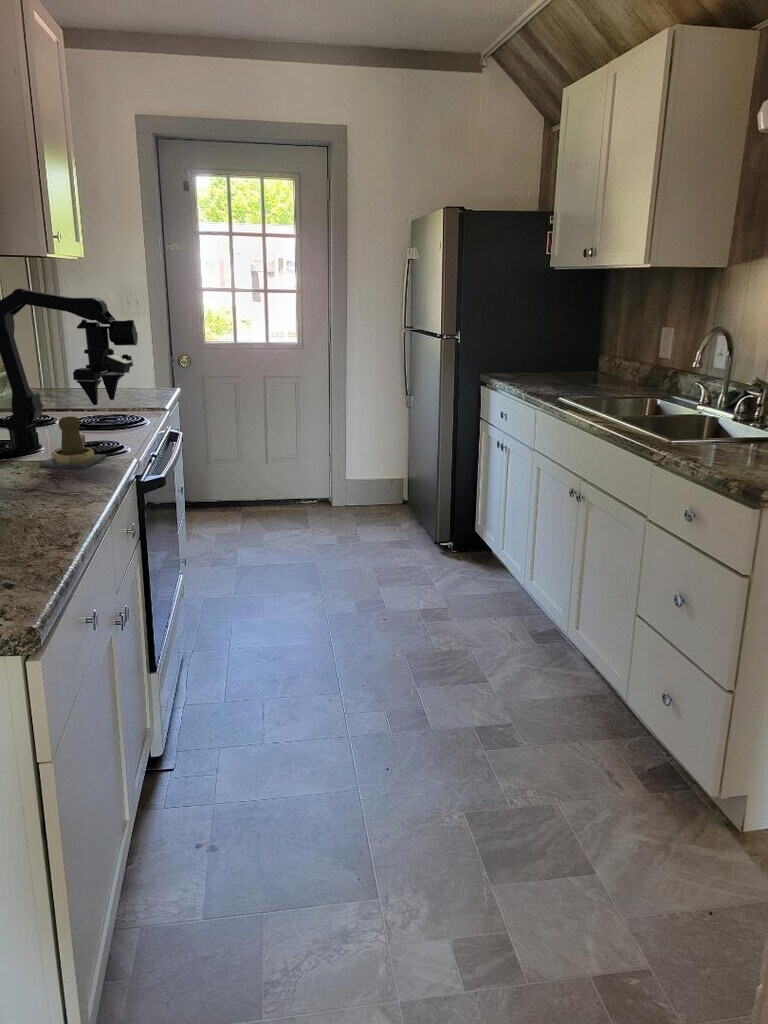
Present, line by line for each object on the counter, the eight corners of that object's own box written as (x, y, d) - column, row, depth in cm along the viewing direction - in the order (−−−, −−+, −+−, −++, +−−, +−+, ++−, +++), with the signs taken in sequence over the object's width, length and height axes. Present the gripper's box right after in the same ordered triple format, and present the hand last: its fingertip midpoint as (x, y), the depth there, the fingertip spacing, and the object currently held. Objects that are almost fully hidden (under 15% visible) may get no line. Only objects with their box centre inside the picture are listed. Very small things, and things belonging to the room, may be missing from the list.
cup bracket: (39, 466, 195) (38, 455, 194) (65, 456, 206) (64, 445, 205) (83, 468, 193) (81, 457, 192) (106, 458, 204) (105, 447, 203)
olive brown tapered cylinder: (89, 456, 202) (85, 415, 199) (79, 461, 196) (74, 419, 193) (68, 455, 202) (63, 414, 199) (56, 461, 197) (51, 418, 193)
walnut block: (63, 452, 211) (61, 438, 210) (67, 448, 216) (65, 434, 215) (82, 452, 212) (81, 437, 211) (86, 448, 217) (84, 434, 216)
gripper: (108, 349, 198) (114, 408, 203) (141, 343, 216) (146, 398, 220) (68, 348, 200) (75, 407, 204) (104, 342, 217) (110, 397, 222)
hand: (103, 402), depth 213 cm, fingers open, 9 cm apart
